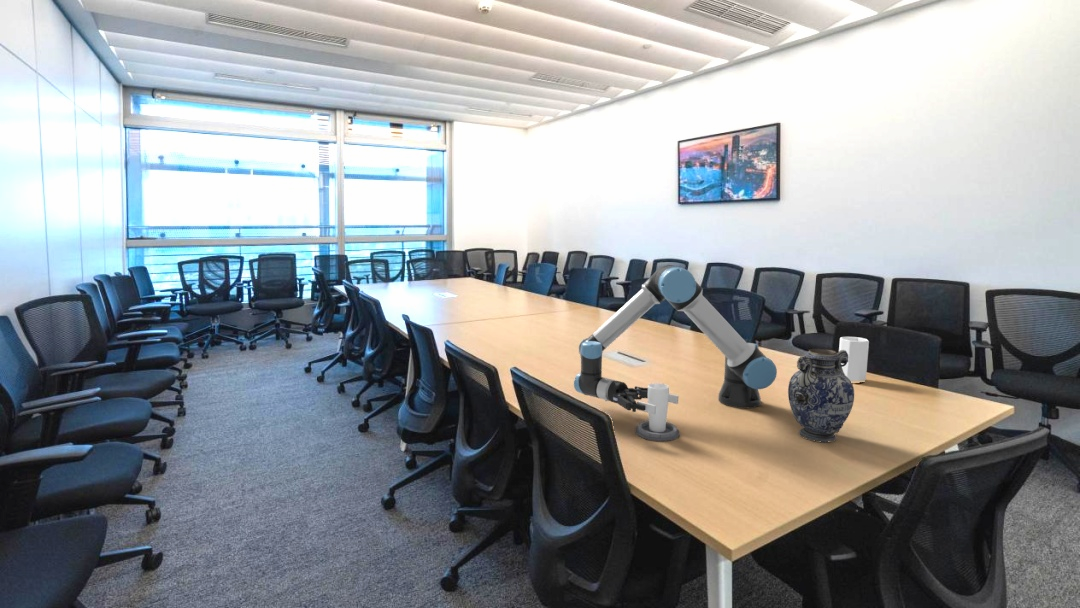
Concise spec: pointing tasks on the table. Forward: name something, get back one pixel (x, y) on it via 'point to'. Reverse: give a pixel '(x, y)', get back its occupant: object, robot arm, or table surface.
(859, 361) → the cup
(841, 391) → the decorative vase
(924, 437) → the table surface
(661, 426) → the drinking glass
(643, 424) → the coaster
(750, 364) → the robot arm
